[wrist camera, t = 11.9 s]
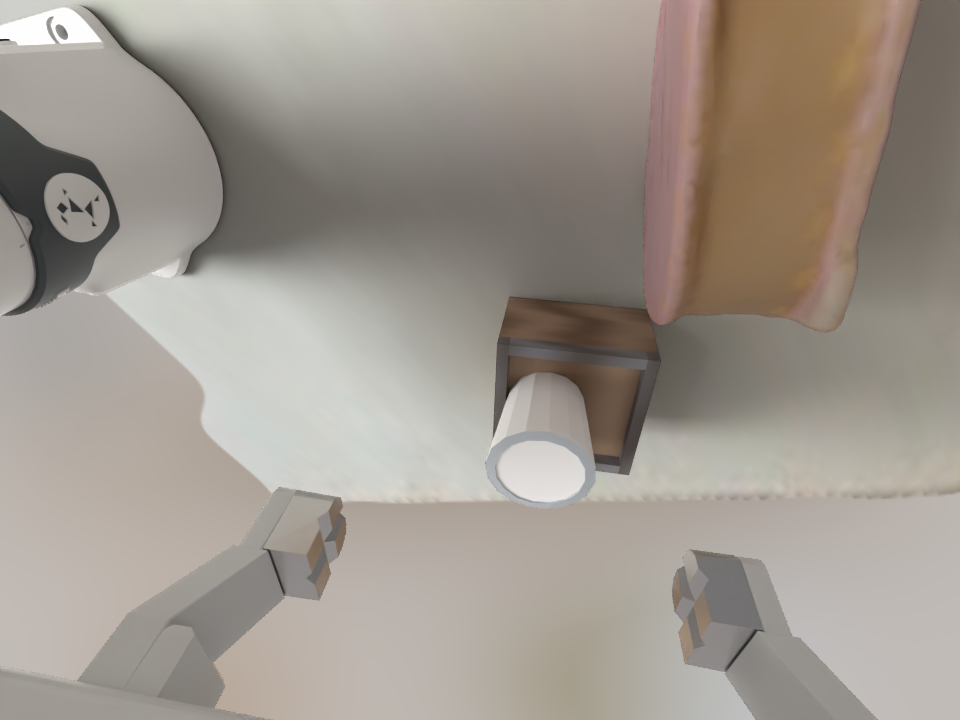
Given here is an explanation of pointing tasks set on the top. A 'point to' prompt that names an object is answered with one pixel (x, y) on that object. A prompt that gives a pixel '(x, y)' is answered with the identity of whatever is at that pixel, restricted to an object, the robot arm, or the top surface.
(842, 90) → the face sculpture
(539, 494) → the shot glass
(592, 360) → the wooden box
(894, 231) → the top surface
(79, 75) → the robot arm
